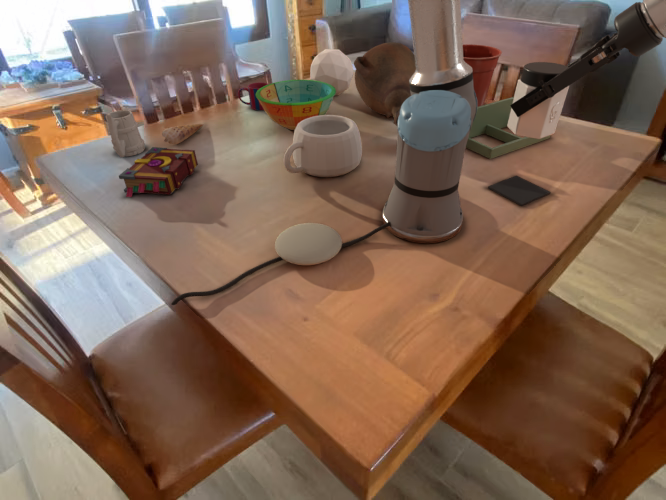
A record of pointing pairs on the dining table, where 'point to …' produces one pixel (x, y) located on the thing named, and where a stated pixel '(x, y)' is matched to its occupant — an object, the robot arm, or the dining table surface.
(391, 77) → the jug
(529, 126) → the jar
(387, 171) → the dining table surface
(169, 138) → the seashell
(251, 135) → the dining table surface
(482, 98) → the flower pot
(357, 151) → the mug
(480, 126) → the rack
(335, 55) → the geometric sphere
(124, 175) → the decorative book
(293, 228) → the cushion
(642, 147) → the dining table surface
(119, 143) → the mug
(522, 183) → the mat
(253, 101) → the cup
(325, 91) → the bowl
